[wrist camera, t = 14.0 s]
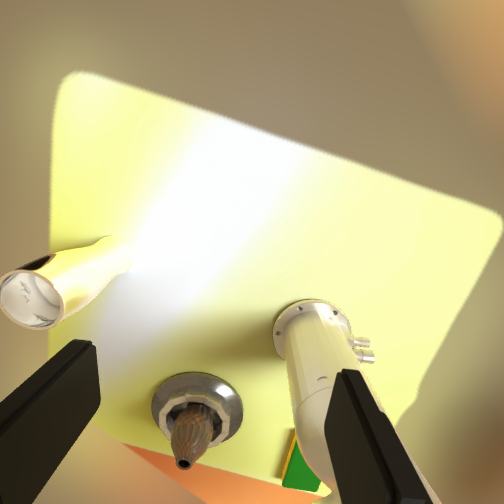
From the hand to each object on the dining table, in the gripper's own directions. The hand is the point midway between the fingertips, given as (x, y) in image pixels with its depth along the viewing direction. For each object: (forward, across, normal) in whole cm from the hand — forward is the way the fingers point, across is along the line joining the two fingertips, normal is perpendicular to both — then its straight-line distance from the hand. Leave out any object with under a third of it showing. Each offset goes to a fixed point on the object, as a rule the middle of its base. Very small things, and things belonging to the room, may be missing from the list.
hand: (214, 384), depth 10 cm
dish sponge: (+29, -16, +44) cm, 55 cm away
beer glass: (+28, +20, +6) cm, 35 cm away
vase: (+28, +6, +35) cm, 45 cm away
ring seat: (+28, +6, +35) cm, 45 cm away
